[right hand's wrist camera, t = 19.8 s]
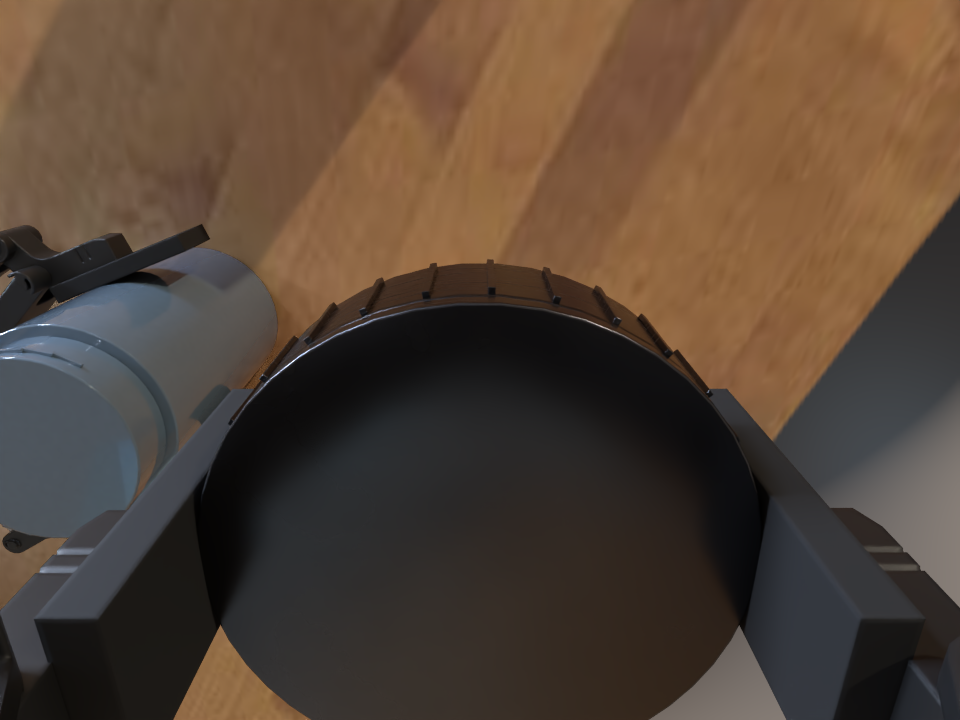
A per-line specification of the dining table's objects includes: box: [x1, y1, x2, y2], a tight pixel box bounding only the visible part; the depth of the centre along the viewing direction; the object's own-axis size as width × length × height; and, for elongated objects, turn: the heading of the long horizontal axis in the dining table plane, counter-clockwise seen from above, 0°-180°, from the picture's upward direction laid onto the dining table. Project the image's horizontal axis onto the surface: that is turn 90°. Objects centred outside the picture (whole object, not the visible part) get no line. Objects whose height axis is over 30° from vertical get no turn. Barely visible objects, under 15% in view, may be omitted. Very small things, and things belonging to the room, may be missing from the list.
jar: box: [0, 248, 277, 538], centre depth 30 cm, size 8×8×16 cm
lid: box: [198, 259, 762, 720], centre depth 11 cm, size 9×9×2 cm
